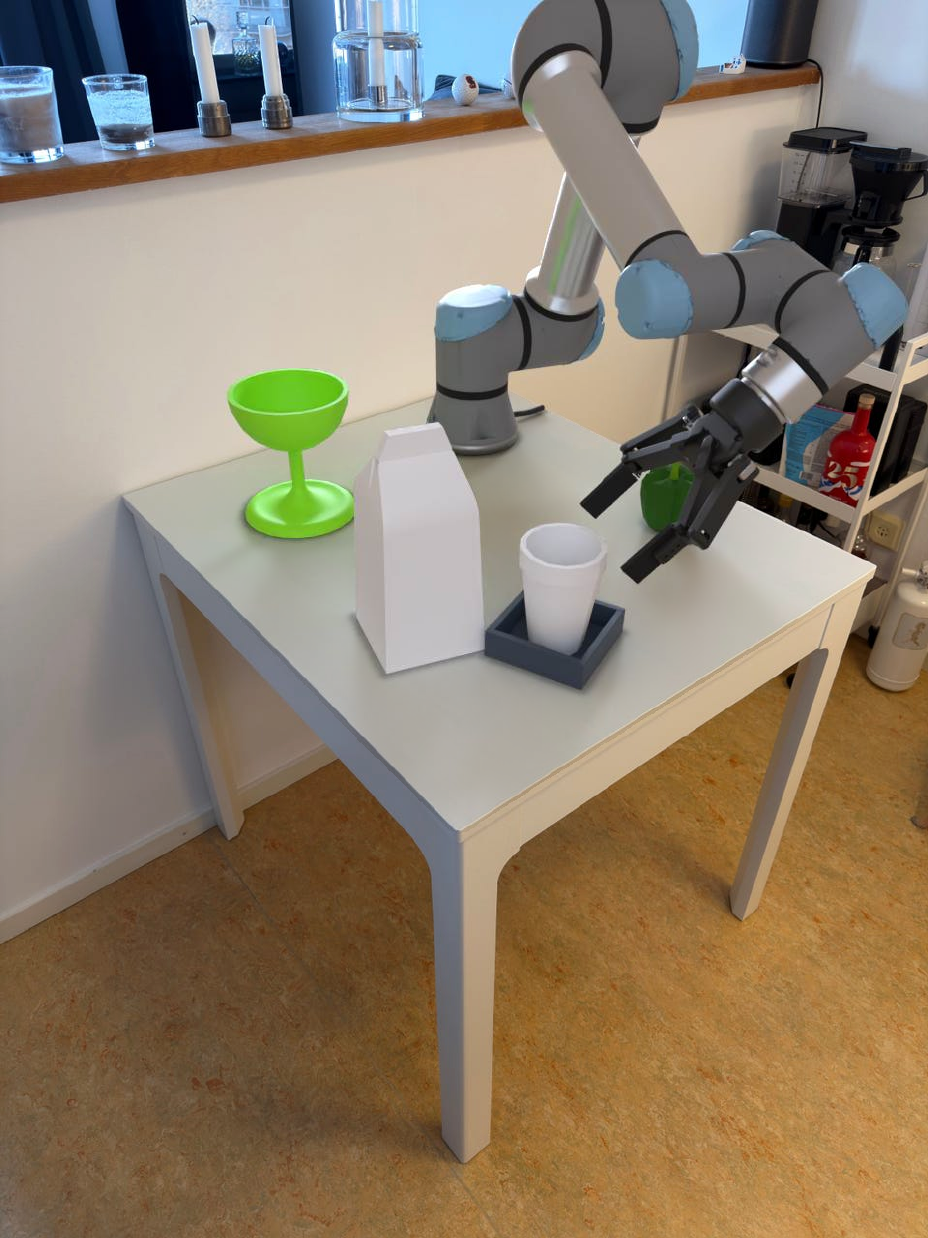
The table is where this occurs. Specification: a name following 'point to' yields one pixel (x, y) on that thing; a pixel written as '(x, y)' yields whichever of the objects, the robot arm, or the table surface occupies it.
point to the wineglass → (293, 447)
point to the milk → (417, 551)
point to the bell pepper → (664, 494)
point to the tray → (514, 648)
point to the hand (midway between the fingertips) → (606, 542)
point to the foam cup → (560, 583)
